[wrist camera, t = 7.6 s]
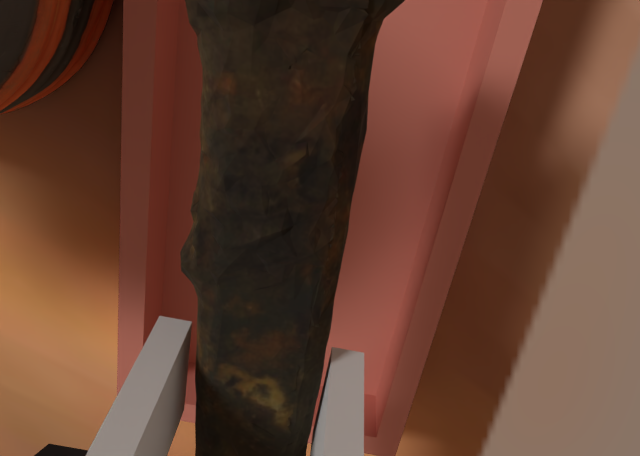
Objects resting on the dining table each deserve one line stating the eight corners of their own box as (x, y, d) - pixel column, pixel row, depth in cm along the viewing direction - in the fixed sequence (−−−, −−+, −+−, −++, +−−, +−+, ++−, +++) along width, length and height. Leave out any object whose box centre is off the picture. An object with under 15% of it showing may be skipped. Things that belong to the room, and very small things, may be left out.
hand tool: (215, -81, 12) (134, -88, 8) (411, -46, 12) (434, -34, 8) (168, 534, 20) (118, 688, 16) (284, 554, 20) (263, 712, 16)
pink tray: (174, -372, 17) (130, -440, 13) (598, -287, 17) (651, -335, 14) (144, 355, 29) (117, 409, 25) (391, 400, 29) (394, 458, 26)
